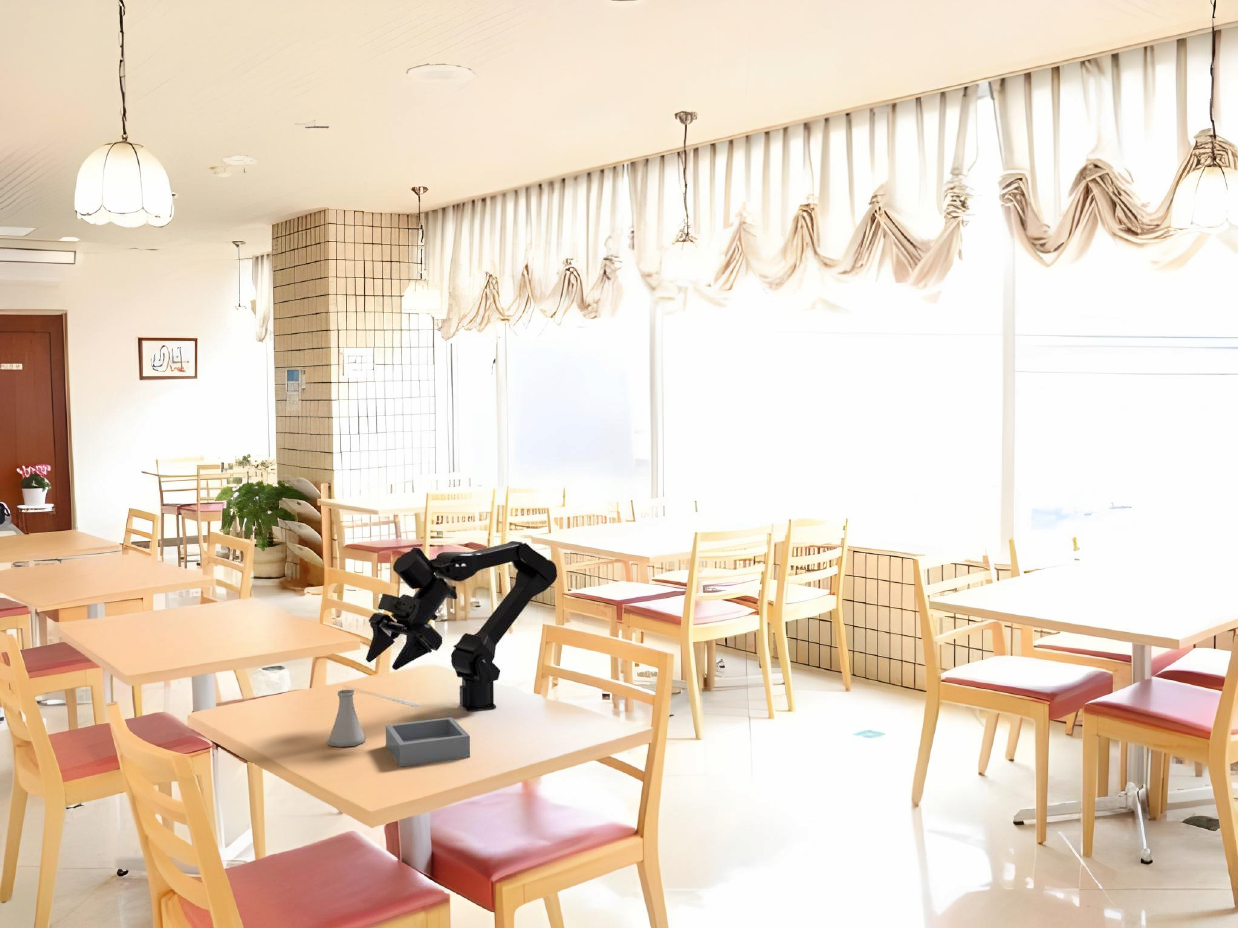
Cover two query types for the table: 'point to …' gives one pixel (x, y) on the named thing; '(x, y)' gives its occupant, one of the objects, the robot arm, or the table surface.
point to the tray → (427, 741)
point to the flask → (346, 723)
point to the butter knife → (403, 701)
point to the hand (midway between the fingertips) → (380, 664)
